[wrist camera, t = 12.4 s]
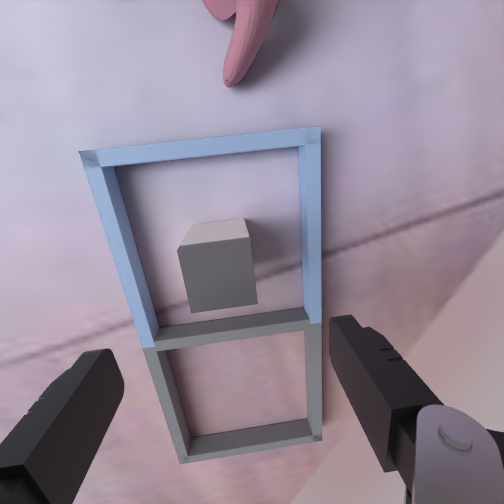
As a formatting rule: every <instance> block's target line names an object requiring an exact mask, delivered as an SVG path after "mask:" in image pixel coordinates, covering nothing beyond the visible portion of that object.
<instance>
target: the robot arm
mask: <svg viewBox="0 0 504 504" xmlns="http://www.w3.org/2000/svg"><path fill="white" fill-rule="evenodd" d="M329 354H330V359H331V363H332V366H333V368H334V370H335V372H336V375H337V377H338V379H339V381H340V383H341V385H342V387H343V389H344V391H345V393H346V395H347V397H348V399H349V401H350V403H351V405H352V407H353V409H354V411H355V413H356V415H357V417H358V420H359V421H360V424H361V425H362V428H363V430H364V432H365V434H366V436H367V438H368V440H369V442H370V444H371V446H372V448H373V450H374V452H375V454H376V456H377V458H378V460H379V462H380V465H381V467H382V468H383V471H384V472H391V471H397V470H398V472H399V473H400V475H401V477H402V479H403V481H404V483H405V485H406V487H405V497H404V504H504V432H498V431H493V430H488V429H485V428H484V427H483V426H482V425H481V424H479V423H478V422H477V421H476V420H474V419H473V418H472V417H470V416H468V415H467V414H465V413H463V412H461V411H459V410H457V409H454V408H452V407H448V406H445V405H444V404H443V403H442V402H441V401H440V400H439V399H438V398H437V396H436V395H435V394H434V393H433V392H432V391H431V390H430V389H429V387H428V386H427V385H426V384H425V383H424V382H423V380H422V379H421V378H420V377H419V376H418V375H417V374H416V372H415V371H414V370H413V369H412V368H411V367H410V366H409V364H408V363H407V362H406V361H405V360H403V359H402V356H401V355H400V354H399V353H398V352H397V351H396V350H394V347H393V346H392V345H391V344H390V343H389V341H388V340H387V339H386V338H385V337H384V336H383V335H382V334H380V333H378V332H377V331H375V330H374V329H372V328H370V327H365V328H362V327H361V326H360V324H359V323H358V322H357V321H356V319H355V318H354V317H353V316H352V315H344V316H337V317H331V318H330V319H329ZM123 394H124V380H123V377H122V375H121V372H120V370H119V367H118V365H117V362H116V360H115V357H114V354H113V352H112V351H111V350H110V349H100V350H93V351H87V352H84V353H83V354H82V355H81V356H80V357H79V358H78V360H77V361H76V362H75V363H74V365H73V366H72V367H71V368H70V369H68V370H67V371H65V372H64V373H63V374H62V375H60V376H59V377H58V378H57V379H56V380H54V381H53V382H52V383H51V384H50V385H49V386H48V388H47V389H46V390H45V391H44V392H43V394H42V395H41V396H40V397H39V400H38V401H36V402H35V403H34V404H33V406H32V407H31V408H30V409H29V410H28V414H27V415H24V416H23V418H22V419H21V420H20V421H19V422H18V424H17V425H16V426H15V427H14V428H13V430H12V431H11V432H10V433H9V434H8V436H7V437H6V438H5V439H4V440H3V442H2V443H1V444H0V504H72V503H73V501H74V499H75V497H76V495H77V493H78V491H79V488H80V486H81V484H82V482H83V480H84V478H85V476H86V474H87V472H88V470H89V467H90V465H91V463H92V461H93V459H94V457H95V455H96V453H97V451H98V448H99V446H100V444H101V442H102V440H103V438H104V436H105V434H106V432H107V430H108V427H109V425H110V423H111V421H112V419H113V417H114V415H115V413H116V411H117V408H118V406H119V404H120V402H121V400H122V397H123Z"/></svg>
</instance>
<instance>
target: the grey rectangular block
mask: <svg viewBox="0 0 504 504" xmlns="http://www.w3.org/2000/svg"><path fill="white" fill-rule="evenodd" d="M177 252H178V257H179V261H180V266H181V270H182V274H183V279H184V283H185V288H186V292H187V296H188V301H189V305H190V310H191V313H196V312H203V311H210V310H217V309H224V308H231V307H238V306H245V305H252V304H258V302H257V293H256V284H255V276H254V267H253V258H252V249H251V241H250V237H249V234H248V230H247V227H246V223H245V220H244V218H243V219H235V220H227V221H219V222H211V223H203V224H195V225H192V226H191V228H190V230H189V231H188V233H187V235H186V236H185V238H184V240H183V241H182V243H181V245H180V246H179V248H178V250H177Z"/></svg>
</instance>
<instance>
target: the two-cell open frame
mask: <svg viewBox="0 0 504 504" xmlns="http://www.w3.org/2000/svg"><path fill="white" fill-rule="evenodd" d="M291 147H298V158H299V186H300V215H301V244H302V272H303V301H304V307H303V308H296V309H289V310H282V311H275V312H268V313H261V314H254V315H247V316H240V317H233V318H225V319H218V320H211V321H204V322H197V323H190V324H183V325H176V326H169V327H162V328H159V325H158V321H157V318H156V314H155V311H154V307H153V304H152V300H151V297H150V293H149V290H148V286H147V283H146V279H145V275H144V272H143V268H142V265H141V261H140V258H139V254H138V251H137V247H136V244H135V240H134V237H133V233H132V230H131V226H130V223H129V219H128V215H127V212H126V208H125V205H124V201H123V198H122V194H121V191H120V187H119V184H118V180H117V177H116V173H115V170H114V167H115V166H125V165H134V164H143V163H152V162H161V161H171V160H180V159H189V158H198V157H208V156H217V155H226V154H235V153H244V152H254V151H263V150H272V149H281V148H291ZM79 153H80V157H81V160H82V163H83V166H84V169H85V172H86V175H87V178H88V181H89V184H90V187H91V191H92V194H93V197H94V200H95V203H96V206H97V209H98V212H99V215H100V218H101V221H102V225H103V228H104V231H105V234H106V237H107V240H108V243H109V246H110V249H111V252H112V255H113V259H114V262H115V265H116V268H117V271H118V274H119V277H120V280H121V283H122V286H123V289H124V293H125V296H126V299H127V302H128V305H129V308H130V311H131V314H132V317H133V320H134V323H135V327H136V330H137V333H138V336H139V339H140V342H141V345H142V348H143V351H144V354H145V357H146V361H147V364H148V367H149V370H150V373H151V376H152V379H153V382H154V385H155V388H156V391H157V395H158V398H159V401H160V404H161V407H162V410H163V413H164V416H165V419H166V422H167V426H168V429H169V432H170V435H171V438H172V441H173V444H174V447H175V450H176V453H177V456H178V460H179V463H180V464H185V463H191V462H197V461H203V460H209V459H215V458H221V457H227V456H233V455H239V454H245V453H251V452H256V451H262V450H268V449H274V448H280V447H286V446H292V445H298V444H304V443H310V442H316V441H322V308H321V129H320V126H316V127H307V128H297V129H288V130H278V131H269V132H259V133H250V134H240V135H230V136H221V137H211V138H202V139H192V140H183V141H173V142H164V143H154V144H144V145H135V146H125V147H116V148H106V149H97V150H87V151H79ZM300 330H305V358H306V387H307V415H308V419H303V420H297V421H291V422H285V423H279V424H273V425H266V426H260V427H254V428H248V429H242V430H236V431H230V432H224V433H218V434H212V435H205V436H199V437H193V438H190V434H189V431H188V427H187V424H186V420H185V417H184V413H183V410H182V406H181V403H180V399H179V395H178V392H177V388H176V385H175V381H174V378H173V374H172V371H171V367H170V364H169V360H168V357H167V353H166V350H170V349H177V348H184V347H190V346H197V345H204V344H211V343H218V342H225V341H232V340H239V339H245V338H252V337H259V336H266V335H273V334H280V333H287V332H293V331H300Z"/></svg>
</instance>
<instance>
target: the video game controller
mask: <svg viewBox="0 0 504 504" xmlns="http://www.w3.org/2000/svg"><path fill="white" fill-rule="evenodd" d="M202 1H203V3H204V5H205V7H206V8H207V9H208V11H209V12H210V13H211V14H212V15H213V16H214V17H216V18H217V19H218V20H227V19H228V18H230V17H231V16H232V15H233V14H234V13H235V12H236V20H235V25H234V30H233V35H232V38H231V42H230V45H229V48H228V51H227V55H226V58H225V61H224V69H223V80H224V84H225V85H226V86H227V87H233V86H234V85H236V84H237V83H238V82H240V81H241V79H242V78H243V77H244V76H245V74H246V73H247V71H248V70H249V68H250V66H251V65H252V63H253V61H254V59H255V57H256V55H257V53H258V51H259V49H260V47H261V46H262V44H263V42H264V40H265V37H266V35H267V32H268V30H269V27H270V25H271V22H272V19H273V17H274V14H275V11H276V8H277V6H278V3H279V0H202Z"/></svg>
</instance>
